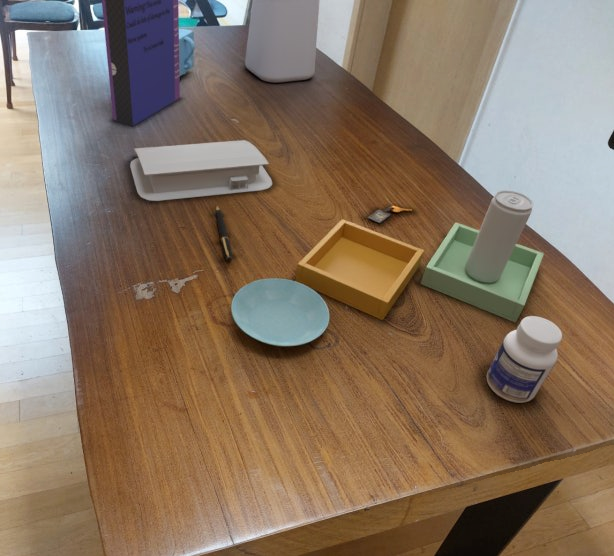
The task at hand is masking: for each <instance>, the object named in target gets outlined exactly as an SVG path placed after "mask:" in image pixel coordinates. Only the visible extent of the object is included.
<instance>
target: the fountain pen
mask: <svg viewBox="0 0 614 556" xmlns="http://www.w3.org/2000/svg"><path fill="white" fill-rule="evenodd" d="M215 215H216V220H217V221H216V222H217V226H218V232H219V237H220V244H221V249H222V251H223V252H222V253H223V254H224V257H225V259H226V261H227V262H229V263H230V262H232V259H233V258H232V255H233V254H232V253H233V252H232V248H231V247H232V246H231V242H230V238H229V236H228V232H227V228H226V224H225V221H224V216H223V214H222V211H221V209H220V208H219V206H218V205H216V208H215Z"/></svg>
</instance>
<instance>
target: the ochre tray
mask: <svg viewBox="0 0 614 556" xmlns="http://www.w3.org/2000/svg"><path fill="white" fill-rule="evenodd" d="M424 253H425V249H422V248H419V247H417V246H414V245H412V244H408V243H407V242H404V241H401V240H398V239H396V238H394V237H391V236H388V235H385V234H383V233H380V232H378V231H375V230H373V229H370V228H367V227H364V226H362V225H359V224H357V223H354V222H351V221H349V220H346V219H343V218H342V219H340V221H338V223H337V224H336V225H335V226H333V228H332V229H331V230H329V232H328V233H327V234H326V235H325V236H324V237H323V238H322V239H321V240H320V241H319V242H318V243H317V244H315V246H314V247H313V248H312V249H310V251H309V252H308V253H307V254H306V255H305V256H304V257H303V258H302V259H301V260H300V261H298V263H297V266H296V272H295V279H294V281H295V282H298V283H301V284H303V285H305V286H307V287H309V288H311V289H313V290H314V291H315V292H317V293H320V294H322V295H325V296H327V297H328V298H332V299H334V300H336V301H338V302H340V303H343V304H345V305H347V306H349V307H352V308H354V309H356V310H358V311H360V312H363V313H365V314H367V315H370V316H372V317H374V318H377V319H378V320H381V321H384V319H385V318H386V317H387V315H388V313H389V312H390V311H391V309H392V307H393V306H394V305H395V303H396V301H398V299H399V298H400V296H401V295H402V293H403V292H404V290H405V288H406V287H407V285H409V282H410V281H411V280H412V278H413V276H414V275H415V274H416V272H417V271H418V269H419V268H420V265H421V262H422V259H423V257H424Z"/></svg>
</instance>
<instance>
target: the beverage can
mask: <svg viewBox="0 0 614 556" xmlns="http://www.w3.org/2000/svg"><path fill="white" fill-rule="evenodd" d="M533 207H534V202H533V200H532V199H531V198H530V197H529V196H527V195H525V194H523V193H522V192H518V191H513V190H499V191H497V192H496V193H495V194H494V197H493V198H491V201H490V204H489V206H488V209H487V211H486V213H485V215H484V218H483V220H482V224H481V226H480V228H479V229H478V230H479V233H478V235H477V238H476V240H475V243H474V245H473V248H472V250H471V253H470V255H469V257H468V260H467V262H466V265H465V268H466V271H467V273H468V274H469V276H470V277H472V278H473V279H475V280H477V281H479V282H483V283H492V282H495V281H497V280H499V279H500V277H501V275H502V273H503V271H504V268H505V266H506V264H507V262H508V260H509V258H510V256H511V253H512V251H513V249H514V247H515V245H516V244H518V241H519V239H520V238H521V235H522V233H523V231H524V229H525V227H526V225H527V223H528V220H529V218H530V216H531V214H532V212H533Z"/></svg>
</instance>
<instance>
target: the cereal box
mask: <svg viewBox="0 0 614 556" xmlns="http://www.w3.org/2000/svg"><path fill="white" fill-rule="evenodd" d="M101 8H102V18H103V27H104V38H105V49H106V60H107V69H108V70H107V71H108V78H109V81H108V82H109V89H110V100H111V107H112V108H111V110H112V121H113V122H116V123H121V124H124V125H127V126H130V127H135V126H137V125H138V124H139V123H141V122H143V121H145V120H147V119H149V118H150V117H152V116H154V115H155V114H156V113H159V112H160V111H162V110H163V109H165V108H167V107H169V106H170V105H172V104H174V103H175V102H177V101H179V100H181V85H180V82H181V81H180V77H181V76H180V75H179V28H180V23H179V22H180V21H179V18H180V15H179V0H101Z"/></svg>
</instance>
